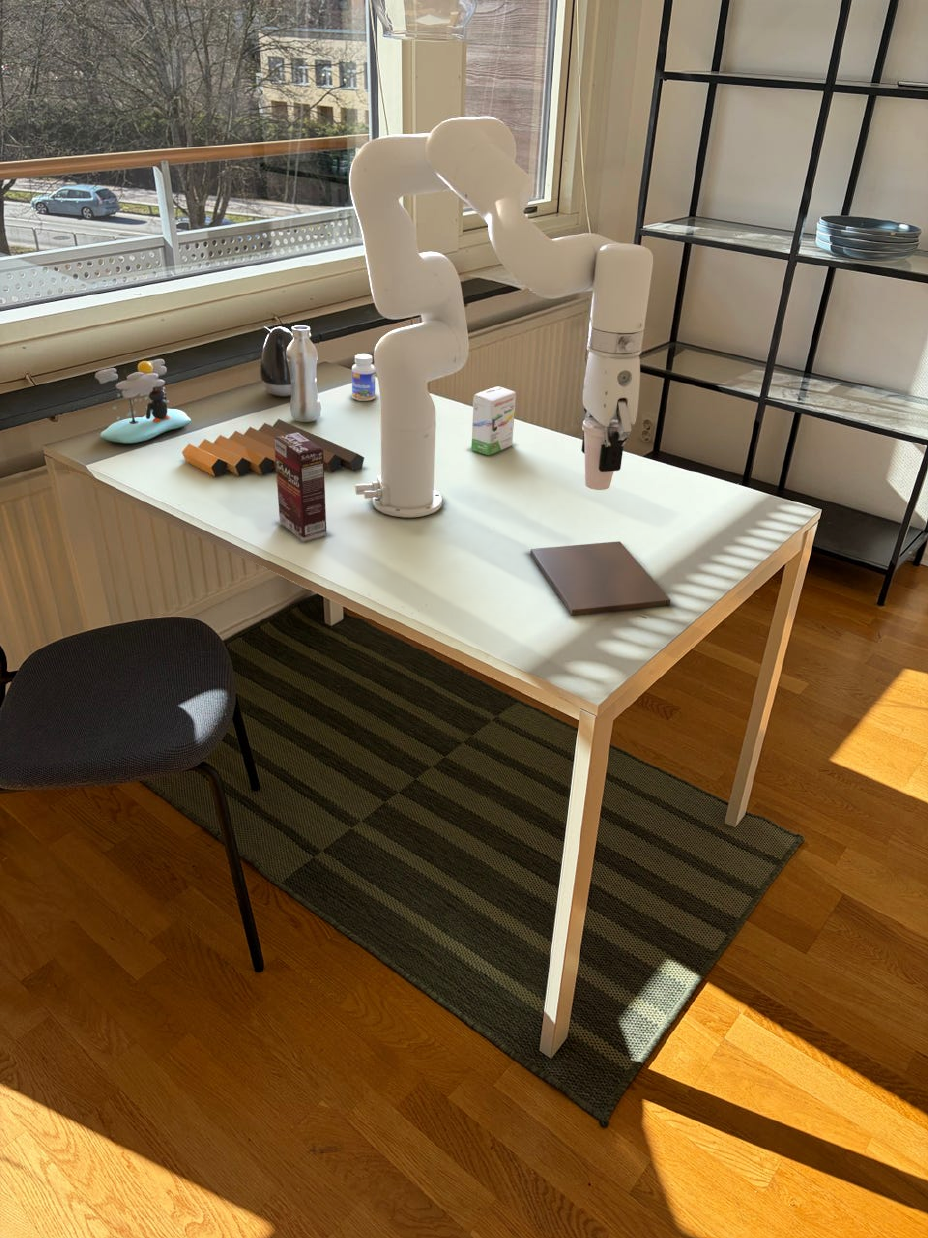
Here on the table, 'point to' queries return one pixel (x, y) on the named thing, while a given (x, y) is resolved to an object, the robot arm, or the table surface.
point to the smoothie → (595, 454)
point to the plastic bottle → (303, 376)
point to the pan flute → (262, 451)
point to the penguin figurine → (157, 412)
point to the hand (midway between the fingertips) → (600, 460)
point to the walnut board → (598, 578)
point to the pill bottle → (363, 378)
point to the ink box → (493, 420)
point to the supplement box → (300, 486)
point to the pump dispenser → (276, 362)
